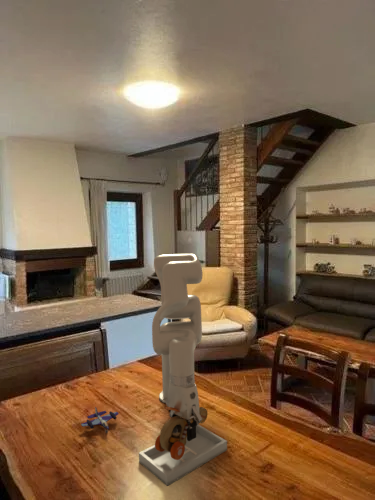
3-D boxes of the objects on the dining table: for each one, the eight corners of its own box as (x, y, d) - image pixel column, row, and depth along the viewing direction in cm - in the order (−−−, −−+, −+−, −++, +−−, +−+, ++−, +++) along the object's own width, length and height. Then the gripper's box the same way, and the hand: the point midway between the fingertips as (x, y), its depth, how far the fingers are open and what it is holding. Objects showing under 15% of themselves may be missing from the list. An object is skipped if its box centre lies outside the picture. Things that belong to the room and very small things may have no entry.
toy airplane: (112, 440, 126) (112, 430, 126) (75, 435, 130) (75, 425, 129) (128, 420, 139) (128, 411, 138) (94, 416, 142) (94, 407, 142)
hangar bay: (197, 431, 130) (197, 423, 130) (227, 449, 120) (226, 440, 119) (139, 462, 115) (138, 452, 114) (167, 486, 104) (167, 475, 104)
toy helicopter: (152, 454, 113) (150, 410, 112) (196, 424, 128) (195, 385, 127) (172, 465, 107) (170, 419, 106) (215, 433, 123) (214, 392, 122)
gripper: (210, 383, 111) (211, 441, 112) (173, 366, 124) (175, 418, 126) (191, 391, 106) (193, 451, 108) (155, 373, 119) (157, 427, 121)
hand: (183, 433), depth 117 cm, fingers closed on toy helicopter, 7 cm apart
